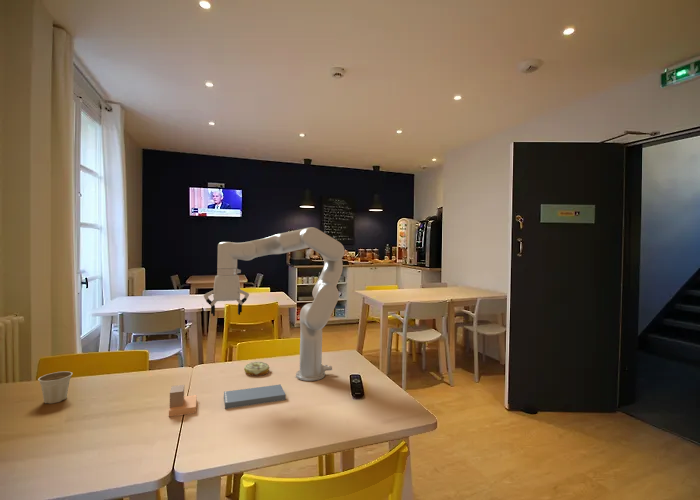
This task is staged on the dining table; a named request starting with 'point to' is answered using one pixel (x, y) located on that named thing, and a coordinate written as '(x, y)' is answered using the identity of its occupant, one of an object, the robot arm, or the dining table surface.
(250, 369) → the decorated donut
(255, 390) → the board
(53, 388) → the flower pot
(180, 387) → the stub
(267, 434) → the dining table surface
